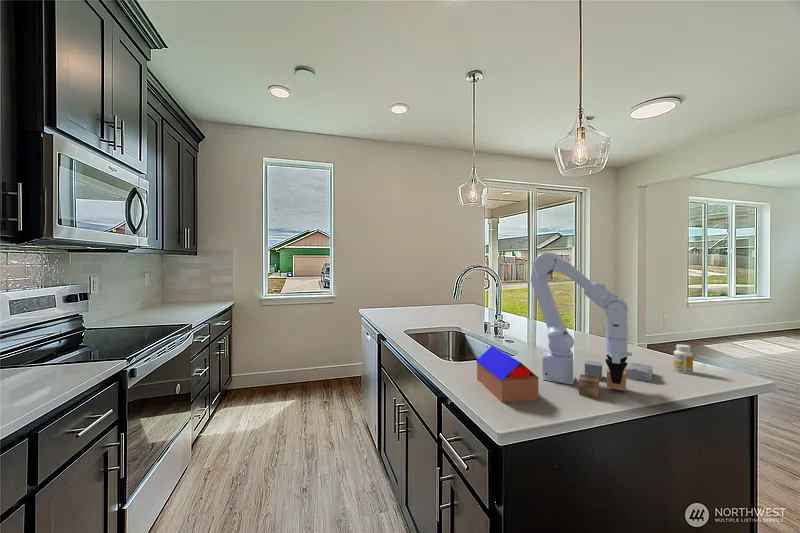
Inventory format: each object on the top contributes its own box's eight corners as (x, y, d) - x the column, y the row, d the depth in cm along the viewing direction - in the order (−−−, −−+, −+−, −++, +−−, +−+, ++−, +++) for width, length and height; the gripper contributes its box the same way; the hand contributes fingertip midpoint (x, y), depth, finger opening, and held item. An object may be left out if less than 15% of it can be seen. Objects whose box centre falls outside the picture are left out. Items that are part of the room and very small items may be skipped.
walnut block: (578, 395, 102) (578, 378, 102) (580, 389, 106) (580, 374, 106) (598, 398, 99) (597, 381, 99) (599, 393, 103) (598, 377, 103)
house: (508, 378, 118) (508, 345, 117) (540, 401, 98) (539, 361, 98) (475, 379, 116) (475, 346, 116) (501, 403, 96) (501, 363, 96)
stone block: (619, 383, 116) (655, 383, 110) (616, 369, 117) (651, 368, 111) (622, 375, 126) (654, 374, 120) (619, 362, 127) (651, 361, 121)
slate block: (584, 377, 117) (584, 363, 117) (586, 373, 121) (585, 360, 121) (601, 380, 114) (601, 366, 114) (602, 376, 118) (602, 362, 118)
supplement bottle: (691, 370, 123) (691, 344, 123) (694, 375, 118) (694, 348, 118) (672, 368, 126) (672, 343, 126) (675, 372, 121) (675, 346, 121)
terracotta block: (606, 387, 104) (606, 371, 104) (607, 382, 109) (607, 367, 109) (626, 390, 102) (626, 374, 102) (626, 385, 106) (626, 370, 106)
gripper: (632, 344, 97) (632, 390, 97) (631, 334, 109) (631, 376, 109) (604, 340, 101) (604, 385, 101) (606, 332, 113) (606, 372, 113)
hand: (616, 380), depth 105 cm, fingers closed on terracotta block, 5 cm apart
